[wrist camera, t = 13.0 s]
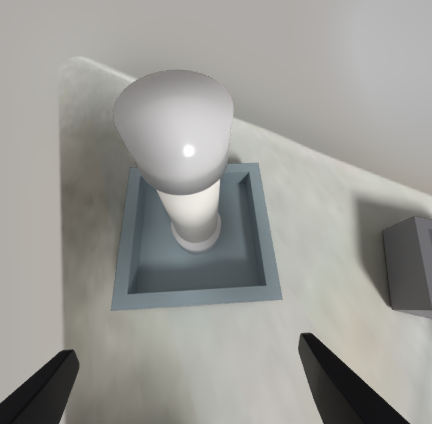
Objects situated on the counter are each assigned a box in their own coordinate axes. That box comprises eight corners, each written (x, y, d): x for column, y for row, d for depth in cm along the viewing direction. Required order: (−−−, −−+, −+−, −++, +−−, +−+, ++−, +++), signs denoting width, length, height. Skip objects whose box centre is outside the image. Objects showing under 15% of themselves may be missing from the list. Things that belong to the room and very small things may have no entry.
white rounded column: (227, 241, 18) (256, 127, 7) (186, 262, 18) (135, 173, 6) (207, 205, 20) (201, 59, 8) (168, 223, 19) (99, 89, 7)
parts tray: (271, 300, 18) (282, 299, 15) (126, 310, 17) (110, 310, 14) (252, 180, 22) (258, 162, 20) (140, 184, 22) (129, 167, 19)
